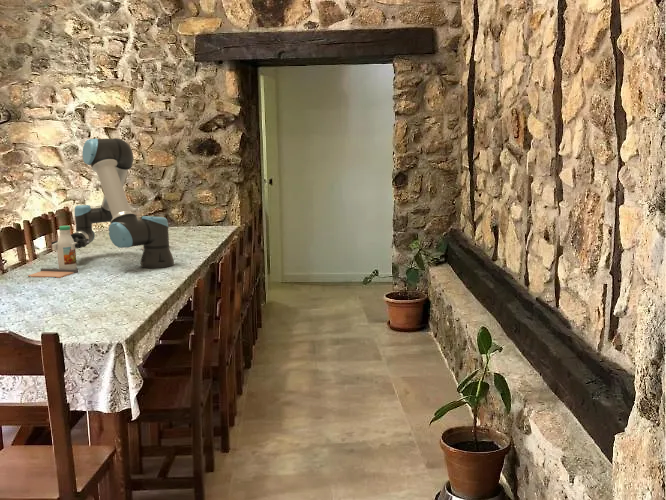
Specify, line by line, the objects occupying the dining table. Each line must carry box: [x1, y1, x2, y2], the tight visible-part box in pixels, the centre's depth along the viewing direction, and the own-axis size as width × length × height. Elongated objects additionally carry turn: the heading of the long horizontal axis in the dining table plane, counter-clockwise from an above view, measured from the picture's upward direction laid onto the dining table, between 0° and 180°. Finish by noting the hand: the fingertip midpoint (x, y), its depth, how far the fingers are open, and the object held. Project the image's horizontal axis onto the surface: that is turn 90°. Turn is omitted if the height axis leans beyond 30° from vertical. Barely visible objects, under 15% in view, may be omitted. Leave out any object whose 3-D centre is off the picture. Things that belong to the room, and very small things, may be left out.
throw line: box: [40, 267, 79, 274], centre depth 306 cm, size 18×1×2 cm, turn 78°
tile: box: [27, 270, 75, 279], centre depth 300 cm, size 16×10×1 cm, turn 78°
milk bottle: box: [56, 225, 78, 269], centre depth 311 cm, size 8×8×20 cm
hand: (62, 247), depth 306 cm, fingers closed on milk bottle, 8 cm apart
